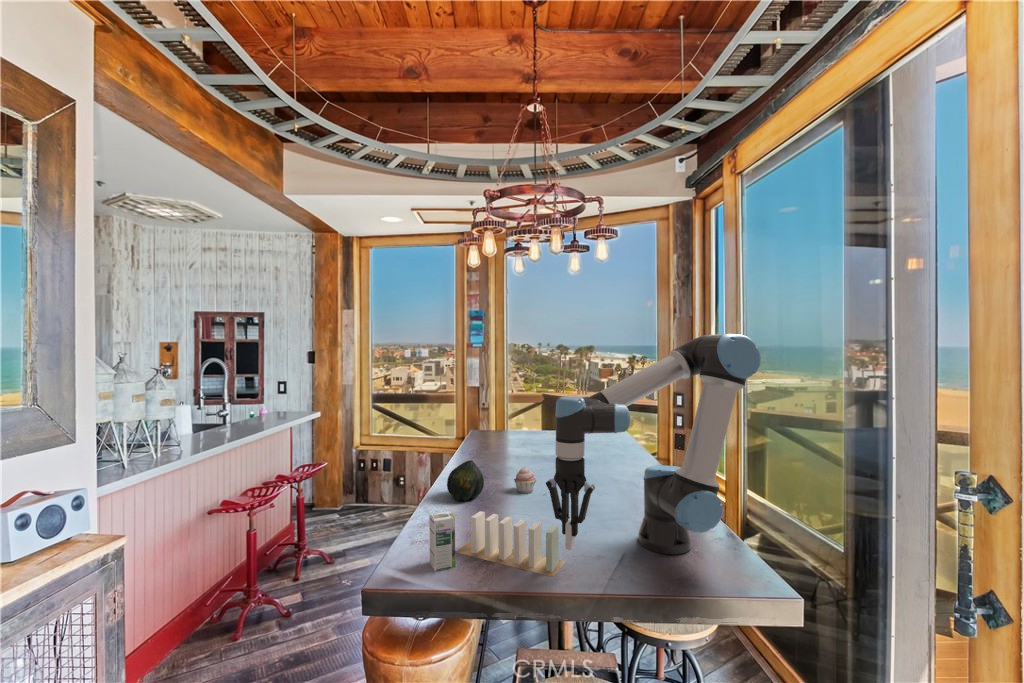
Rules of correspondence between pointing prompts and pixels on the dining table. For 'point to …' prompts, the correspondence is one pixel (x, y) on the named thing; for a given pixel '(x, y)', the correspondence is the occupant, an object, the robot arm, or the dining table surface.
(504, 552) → the domino
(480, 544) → the domino
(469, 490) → the squash
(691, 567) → the dining table surface
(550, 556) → the domino
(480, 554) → the board
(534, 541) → the domino
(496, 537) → the domino
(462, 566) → the dining table surface
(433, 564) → the syrup box
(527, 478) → the cupcake
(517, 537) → the domino
